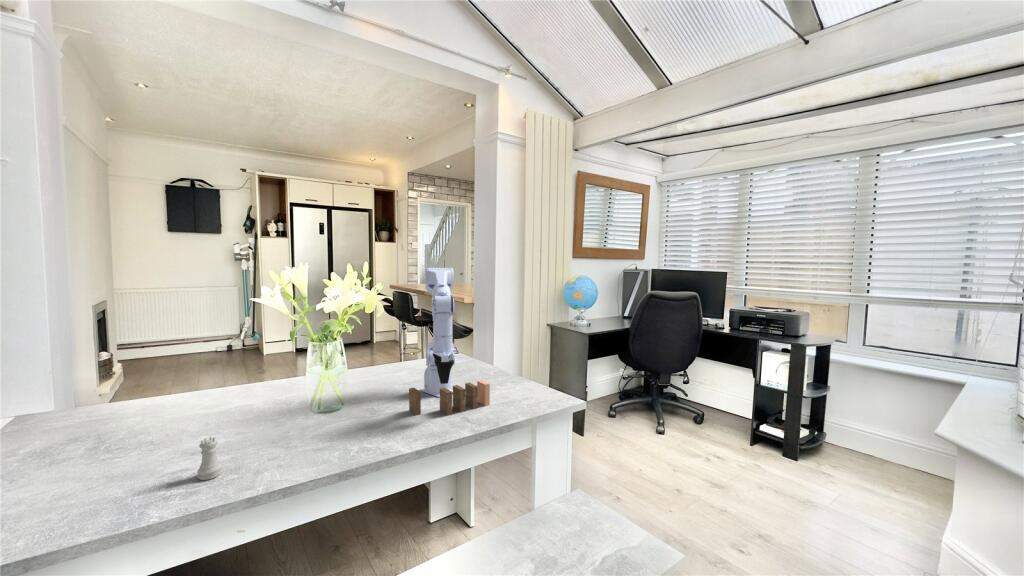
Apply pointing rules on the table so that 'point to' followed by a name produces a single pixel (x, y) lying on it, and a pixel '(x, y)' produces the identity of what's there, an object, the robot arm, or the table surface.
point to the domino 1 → (415, 401)
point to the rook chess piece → (209, 460)
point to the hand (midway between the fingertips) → (443, 379)
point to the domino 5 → (483, 393)
